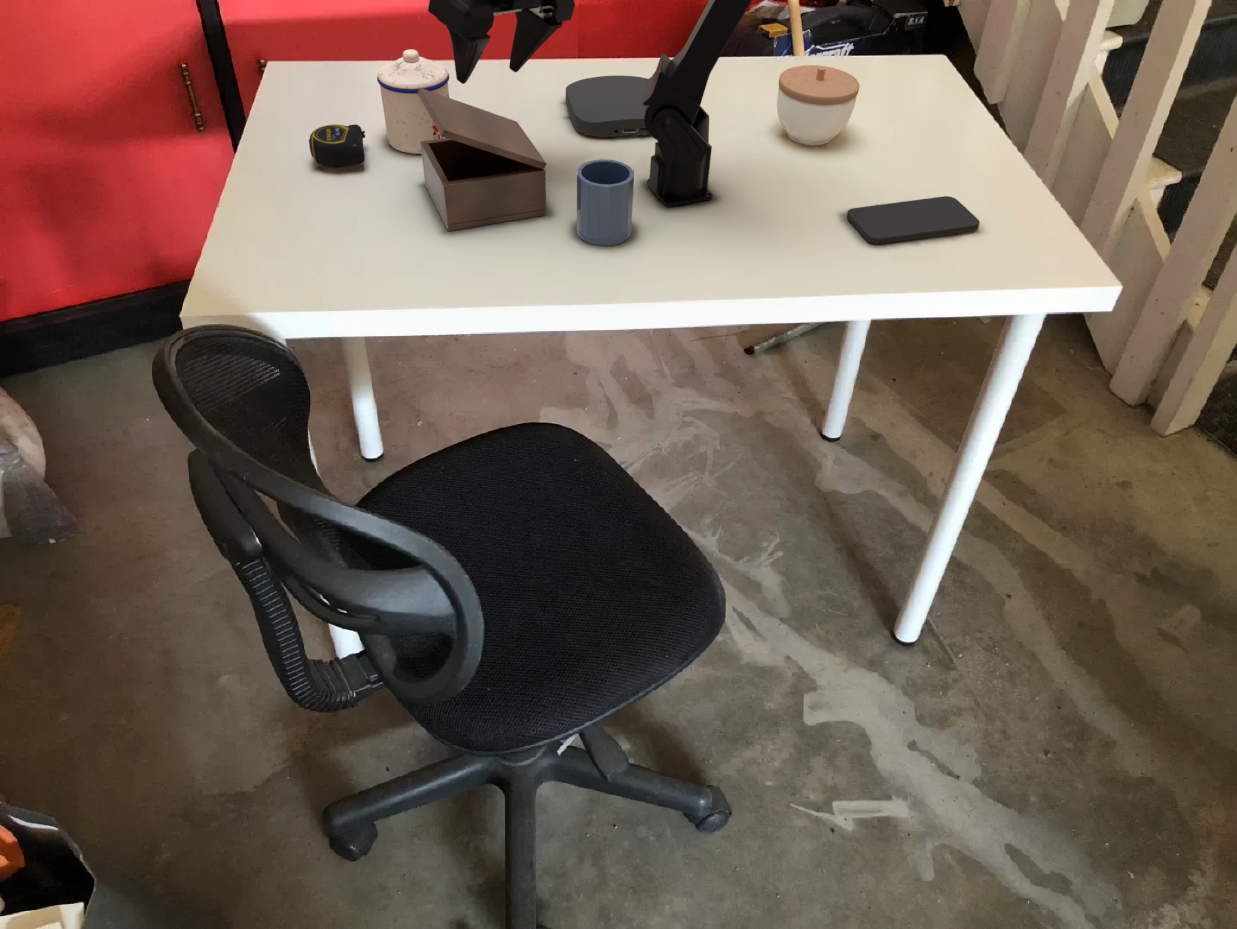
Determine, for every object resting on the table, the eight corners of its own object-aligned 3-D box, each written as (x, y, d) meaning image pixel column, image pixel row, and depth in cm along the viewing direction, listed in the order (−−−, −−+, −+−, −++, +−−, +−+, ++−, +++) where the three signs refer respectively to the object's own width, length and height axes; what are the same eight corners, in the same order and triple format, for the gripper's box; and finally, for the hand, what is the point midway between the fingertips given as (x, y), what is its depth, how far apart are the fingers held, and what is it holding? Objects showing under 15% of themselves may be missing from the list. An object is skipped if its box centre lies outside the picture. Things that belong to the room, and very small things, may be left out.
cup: (619, 214, 114) (621, 155, 108) (639, 240, 109) (642, 181, 104) (569, 222, 112) (569, 163, 107) (588, 249, 108) (588, 189, 102)
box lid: (441, 136, 101) (443, 129, 101) (417, 93, 109) (419, 87, 109) (544, 169, 109) (546, 163, 108) (514, 127, 116) (517, 121, 116)
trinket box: (862, 147, 129) (878, 78, 122) (794, 158, 126) (806, 88, 119) (822, 114, 136) (835, 48, 129) (757, 124, 133) (767, 57, 126)
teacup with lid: (449, 157, 122) (440, 67, 114) (379, 154, 122) (366, 64, 114) (462, 117, 131) (455, 31, 123) (397, 114, 131) (386, 28, 123)
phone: (844, 208, 115) (952, 194, 118) (842, 214, 115) (950, 200, 118) (871, 240, 110) (984, 224, 113) (870, 246, 110) (982, 230, 113)
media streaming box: (561, 96, 137) (561, 75, 135) (658, 91, 140) (659, 71, 138) (577, 140, 127) (577, 119, 125) (681, 135, 130) (683, 114, 127)
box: (448, 231, 109) (443, 185, 105) (425, 185, 117) (420, 141, 113) (546, 215, 113) (545, 170, 109) (518, 171, 120) (516, 127, 116)
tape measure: (367, 172, 119) (362, 144, 116) (311, 175, 118) (305, 147, 115) (367, 148, 124) (363, 120, 121) (314, 150, 123) (308, 122, 120)
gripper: (522, -100, 108) (491, 32, 118) (404, -98, 95) (380, 50, 105) (595, -53, 105) (556, 77, 116) (483, -44, 92) (451, 102, 103)
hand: (487, 75), depth 110 cm, fingers open, 9 cm apart
